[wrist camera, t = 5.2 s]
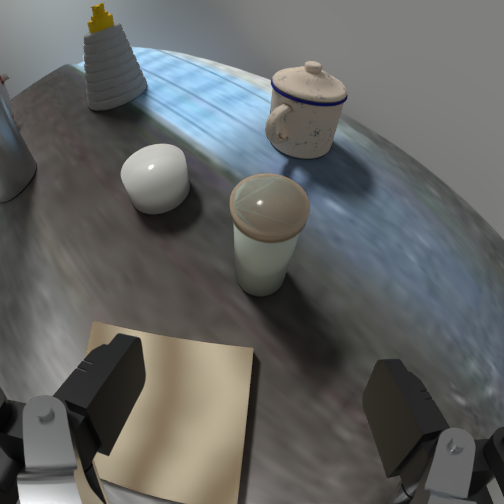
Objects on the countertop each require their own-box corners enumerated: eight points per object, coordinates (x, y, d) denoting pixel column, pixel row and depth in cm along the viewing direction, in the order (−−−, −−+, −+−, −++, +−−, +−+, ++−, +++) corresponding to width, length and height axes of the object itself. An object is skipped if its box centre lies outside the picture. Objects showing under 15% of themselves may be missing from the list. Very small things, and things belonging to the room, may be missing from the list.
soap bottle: (88, 119, 38) (58, 21, 20) (88, 95, 43) (66, 15, 26) (153, 94, 41) (137, -7, 24) (142, 74, 47) (129, -7, 29)
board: (79, 464, 15) (73, 466, 14) (99, 324, 22) (93, 320, 21) (236, 505, 15) (236, 510, 14) (252, 350, 22) (253, 348, 21)
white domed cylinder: (122, 212, 28) (110, 188, 25) (143, 168, 32) (135, 144, 28) (181, 217, 28) (174, 192, 25) (196, 170, 32) (192, 144, 28)
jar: (230, 295, 24) (224, 231, 15) (236, 247, 26) (235, 170, 18) (285, 300, 24) (310, 239, 15) (287, 252, 26) (308, 178, 18)
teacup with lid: (291, 114, 38) (301, 47, 28) (343, 142, 36) (365, 71, 25) (236, 148, 34) (237, 66, 23) (295, 184, 31) (314, 95, 21)
